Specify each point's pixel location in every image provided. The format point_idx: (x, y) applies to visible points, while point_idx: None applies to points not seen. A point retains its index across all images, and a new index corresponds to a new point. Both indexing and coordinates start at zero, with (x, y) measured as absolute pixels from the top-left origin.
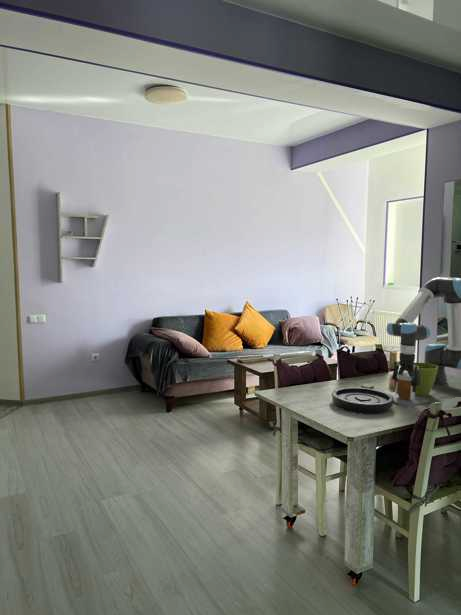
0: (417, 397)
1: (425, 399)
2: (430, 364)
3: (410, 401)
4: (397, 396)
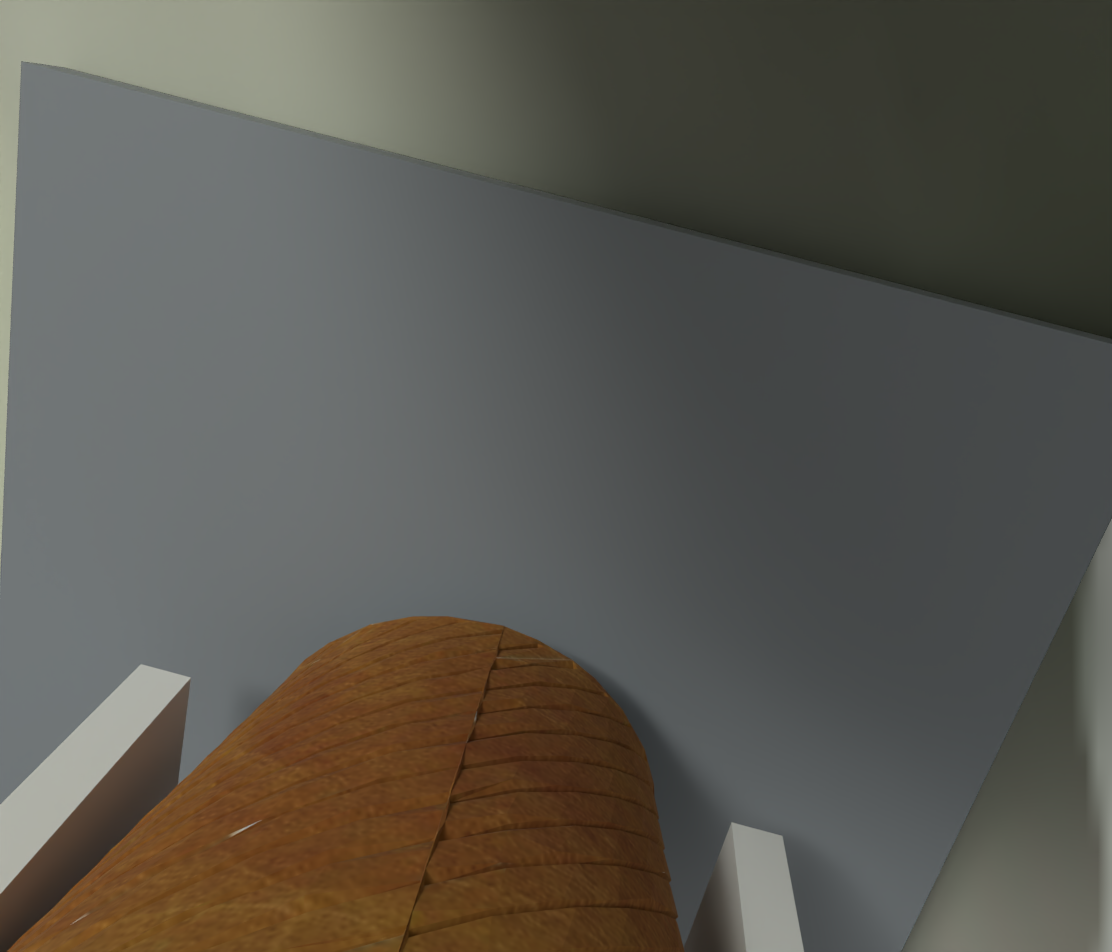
0: (722, 312)
1: (1053, 362)
2: None
3: (701, 895)
4: (192, 672)
